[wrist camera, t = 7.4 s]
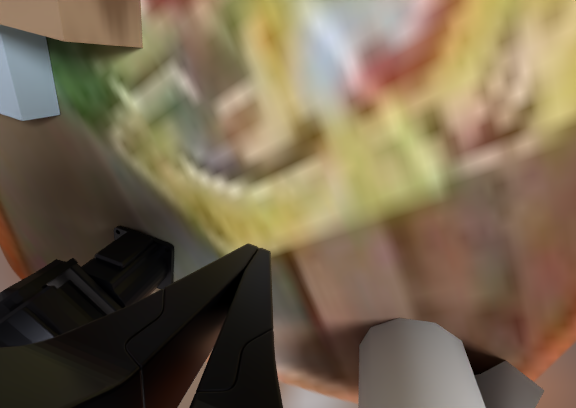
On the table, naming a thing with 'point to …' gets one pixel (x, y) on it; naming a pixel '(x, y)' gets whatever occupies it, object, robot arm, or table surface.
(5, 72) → the pale grey long bar
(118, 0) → the block
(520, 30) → the table surface
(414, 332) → the toilet tissue
